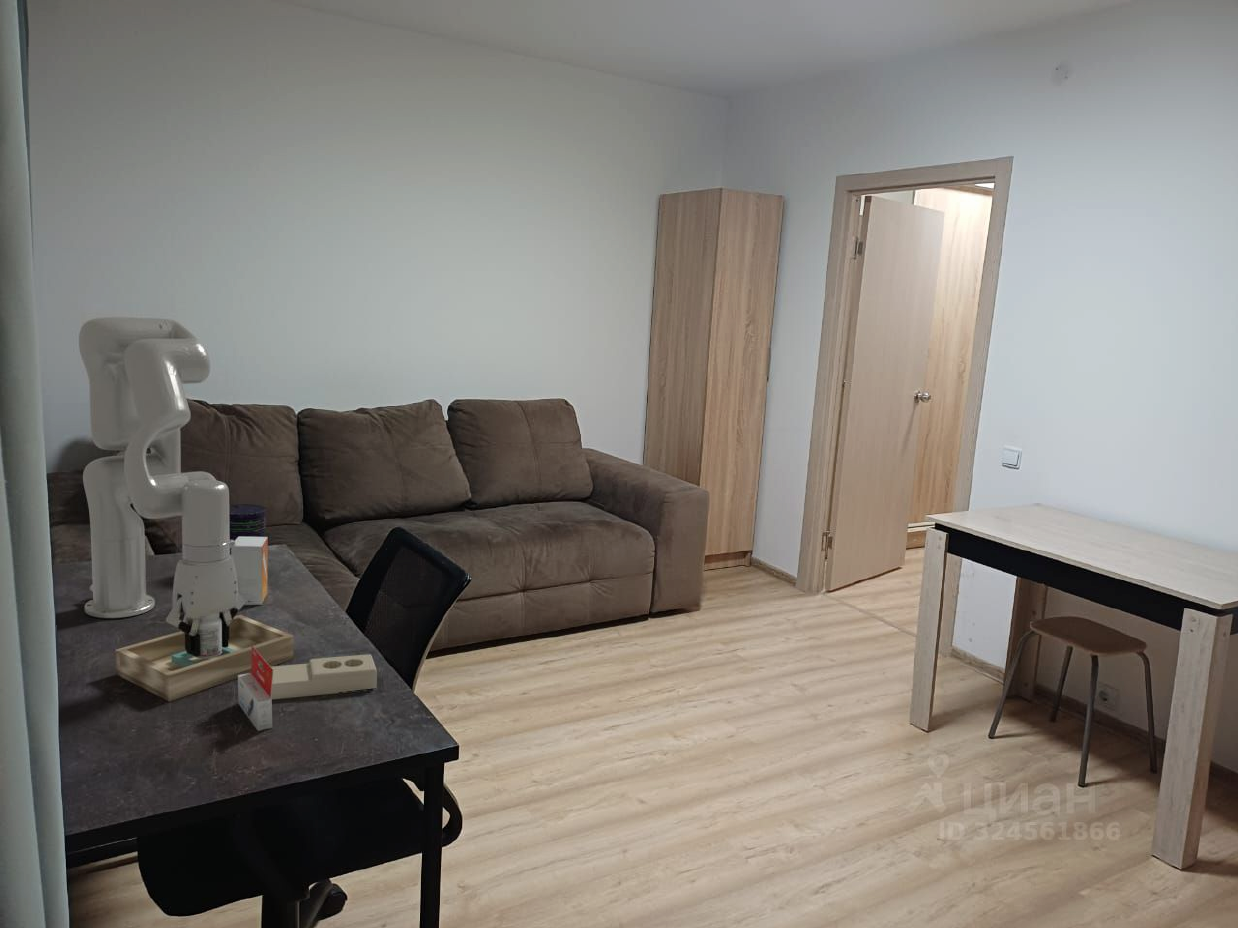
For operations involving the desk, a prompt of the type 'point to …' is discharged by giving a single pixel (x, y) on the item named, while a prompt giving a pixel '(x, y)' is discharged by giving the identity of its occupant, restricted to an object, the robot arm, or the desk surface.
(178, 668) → the walled box
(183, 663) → the collar
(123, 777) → the desk surface
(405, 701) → the desk surface
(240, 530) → the storage jar
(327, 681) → the beige stepped holder block
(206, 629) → the pill bottle
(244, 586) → the small box
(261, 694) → the ink cartridge box
